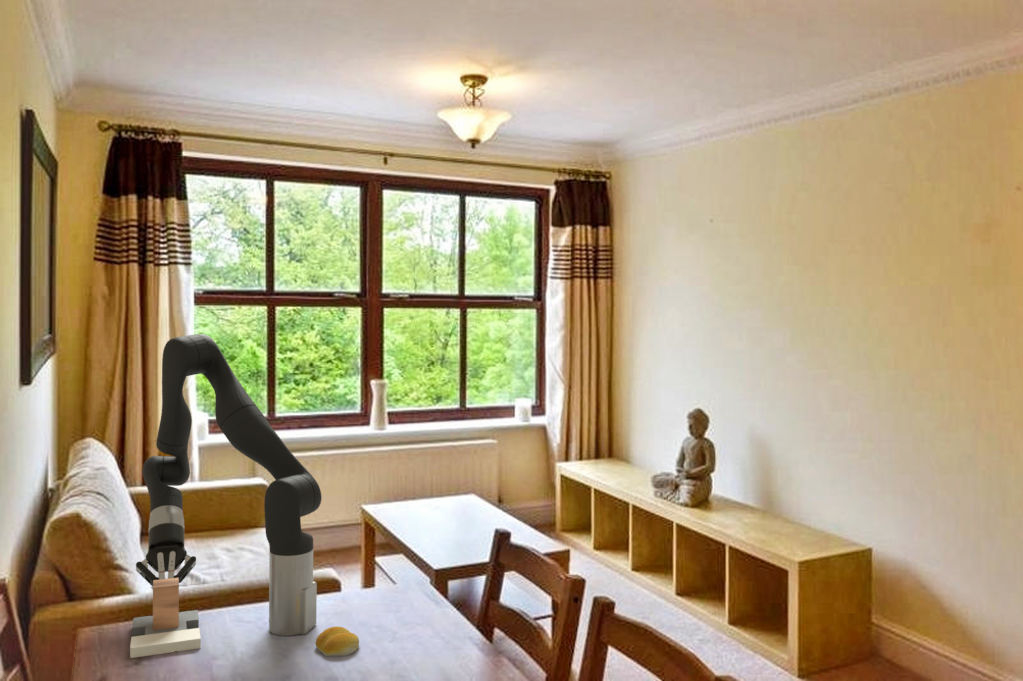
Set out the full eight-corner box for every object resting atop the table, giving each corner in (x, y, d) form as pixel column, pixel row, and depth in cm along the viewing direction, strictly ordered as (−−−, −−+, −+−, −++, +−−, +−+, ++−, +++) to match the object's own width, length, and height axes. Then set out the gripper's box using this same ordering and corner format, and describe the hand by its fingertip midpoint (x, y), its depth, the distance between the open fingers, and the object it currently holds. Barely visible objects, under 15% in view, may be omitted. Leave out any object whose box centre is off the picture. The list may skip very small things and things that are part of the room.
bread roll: (331, 662, 158) (331, 642, 158) (310, 647, 165) (310, 628, 165) (367, 650, 163) (367, 631, 163) (345, 637, 170) (345, 618, 170)
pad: (131, 646, 163) (131, 636, 163) (199, 637, 169) (199, 627, 169) (130, 658, 158) (130, 648, 158) (200, 648, 163) (200, 638, 163)
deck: (133, 627, 174) (133, 617, 173) (197, 618, 179) (197, 609, 179) (131, 646, 163) (131, 636, 163) (199, 637, 169) (199, 627, 169)
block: (153, 621, 171) (153, 580, 171) (178, 618, 173) (178, 577, 173) (152, 630, 167) (152, 587, 167) (178, 627, 169) (178, 584, 168)
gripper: (134, 524, 179) (132, 596, 168) (197, 519, 184) (199, 588, 173) (135, 541, 184) (133, 612, 173) (197, 536, 189) (198, 604, 178)
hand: (166, 600), depth 173 cm, fingers closed
